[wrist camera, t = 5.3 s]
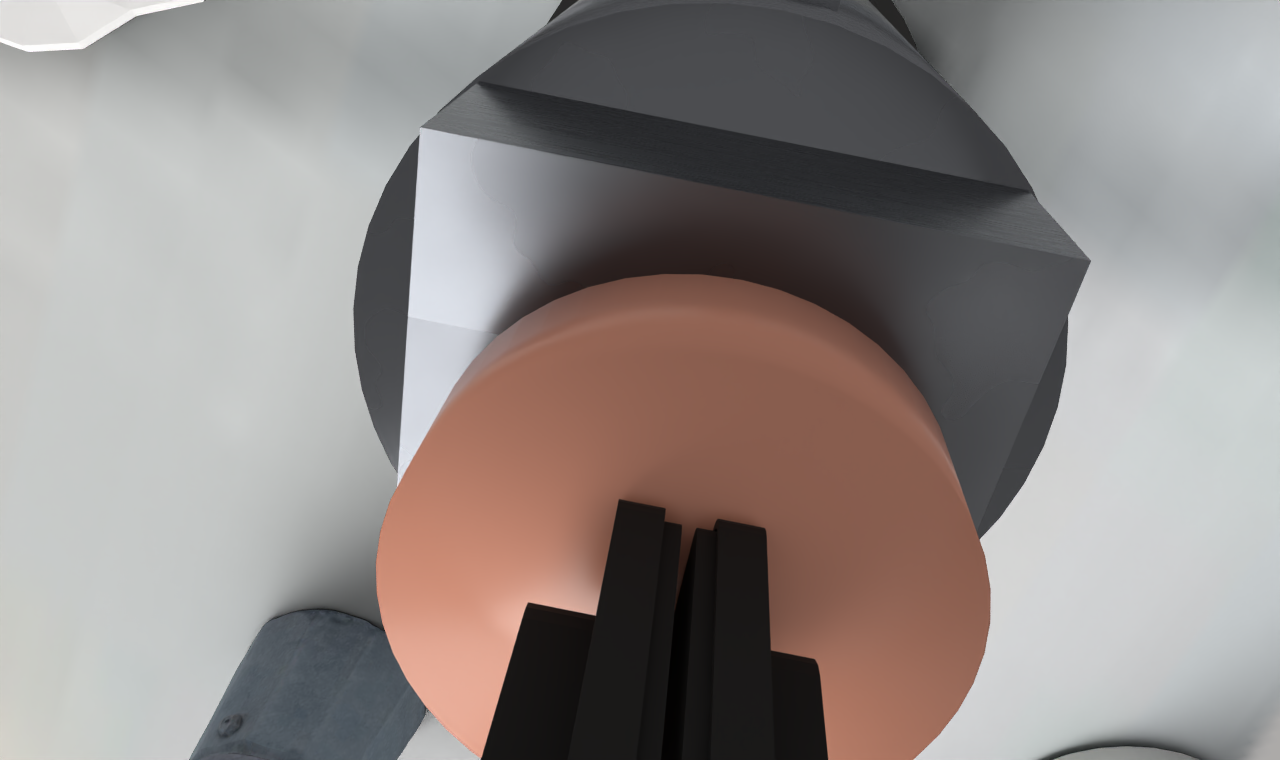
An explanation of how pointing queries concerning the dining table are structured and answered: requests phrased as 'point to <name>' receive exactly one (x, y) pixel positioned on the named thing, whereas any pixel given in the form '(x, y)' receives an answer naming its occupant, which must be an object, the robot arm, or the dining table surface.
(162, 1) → the plate
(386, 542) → the pink rounded piece
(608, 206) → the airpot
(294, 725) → the moka pot
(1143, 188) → the dining table surface
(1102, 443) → the dining table surface
